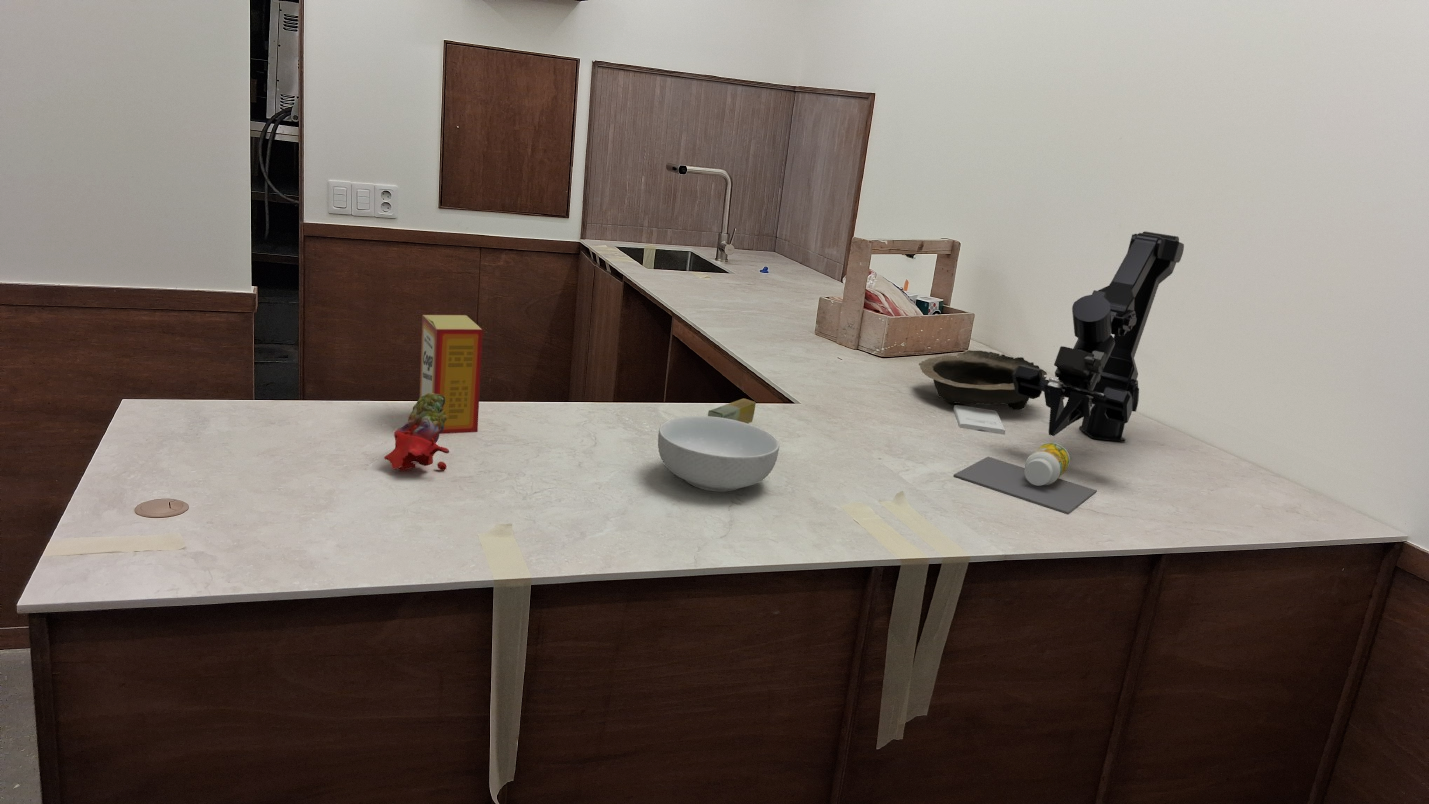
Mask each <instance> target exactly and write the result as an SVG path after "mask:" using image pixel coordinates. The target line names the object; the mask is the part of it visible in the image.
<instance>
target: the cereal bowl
mask: <svg viewBox="0 0 1429 804" xmlns="http://www.w3.org/2000/svg"><path fill="white" fill-rule="evenodd" d="M657 448H658V453H659V455H658V456H659V457H660V459H661V460H662V463H663V464H664V465H665V467H666V468H667V470H669V471H670V472H671V473H672V474H674V475H675V476H676V477H679V478H680V479H682V480H684V481H686V482H687V483H688V484H690V485H691V486H693V487H695V488H698V489H700V490H704V491H708V492H709V491H710V492H716V493H717V492H718V493H719V492H721V493H723V492H724V493H726V492H732V491H735V490H737V489H743V488H747V487H750V486H753V485H756V484H758V483H760V482H762V481H763V480H764V479H766V478H767V477H768V476H769V474H771V472H772V471H773V469H774V467H775V465H776V462H777V459H778V456H779V451H780V442H779V440H778V439H777V438H776V437H775V436H774V435H773V434H772V433H770V432H769V431H767V430H765V429H764V428H760V427H758V426H757V425H754V424H751V423H744V422H740V421H736V420H732V419H727V418H720V417H710V416H708V415H690V416H689V415H688V416H681V417H674V418H671V419H669V420H667V421H665V422H663V423H662V424H661V425H660V427H659V429H658V435H657Z"/></svg>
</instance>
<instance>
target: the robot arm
mask: <svg viewBox="0 0 1429 804" xmlns="http://www.w3.org/2000/svg"><path fill="white" fill-rule="evenodd" d="M1184 248H1185V244H1184V243H1182V242H1180V238H1179V236H1176V235H1170V234H1165V233H1163V234H1162V233H1158V232H1151V231H1143V232H1139V233H1134V234H1131V237H1130V241H1129V244H1128V249H1127V252H1126V255H1125V256H1124V258H1123V260H1122V262H1121V263H1120V264H1119V266H1118V269H1117V271H1116V273H1115V274H1114V276H1113V278H1112V279H1111V282H1110V283H1109V285H1107V286H1104V287H1102V288H1100V289H1098V290H1093V291H1092V293H1091V294H1088V295H1085V296H1084V295H1083V296H1082V297H1080V298H1078V299H1077V300H1075V301H1074V302H1073V305H1072V307H1071V310H1072V322H1073V333H1074V336H1075V337H1076V338H1077V340H1076V342H1075V344H1074V346H1073V347H1069V346H1068V347H1067V346H1064V345H1063V346H1060V347H1059V349H1058V353H1057V354H1056V359H1055V360H1054V363H1053V365H1054V366H1055V367H1056V369H1055V371H1054V377H1055V378H1053V377H1049V379H1047V378H1046V379H1043V377H1042V371H1041V369H1042V368H1040V369H1037V368H1033V367H1029V366H1025V365H1020V366H1018V367H1016V369H1015V370H1014V372H1013V374H1012V378H1013V383H1014V388H1015V393H1016V394H1018V395H1019V396H1023V397H1027V398H1029V399H1031V400H1036V399H1037V398H1040V397H1041V395H1042V394H1043V395H1044V402H1045V406H1046V407H1047V408H1050V411H1049V422H1048V435H1049V436H1052V437H1055V436H1056V435H1057V434H1059V433H1061V432H1062V431H1063V430H1065V429H1066V428H1067V427H1069V426H1070V425H1071V424H1074V423H1075V422H1077V421H1079V420H1082V422H1081V425H1079V430H1081V431H1082V432H1083V433H1085V434H1086V435H1088V437H1090V438H1091V439H1094V440H1104V441H1114V442H1123V443H1125V442H1126V438H1125V437H1123V434H1124V433H1123V432H1124V428H1125V426H1126V425H1125V424H1127V423H1129V420H1130V418H1131V415H1132V412H1137V409H1138V406H1139V399H1140V398H1139V397H1140V387H1139V380H1138V376H1139V372H1138V367H1137V364H1136V360H1135V356H1136V353H1137V350H1138V347H1139V345H1140V341H1141V338H1142V336H1143V332H1144V331H1145V330H1144V329H1145V326H1146V325H1147V321H1148V318H1149V315H1150V312H1151V309H1152V307H1153V303H1154V301H1155V297H1156V294H1157V292H1158V291H1157V290H1158V288H1159V286H1160V284H1161V283H1162V282H1164V281H1165V280H1166V279H1167V278H1168V277H1169V276H1171V275H1172V274H1173V273H1174V270H1175V267H1176V266H1177V264H1178V263H1180V262H1181V260H1182V257H1183V254H1184ZM1113 335H1114V336H1113ZM1065 399H1067V402H1066V404H1064V400H1065Z"/></svg>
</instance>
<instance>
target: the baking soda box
mask: <svg viewBox="0 0 1429 804" xmlns="http://www.w3.org/2000/svg"><path fill="white" fill-rule="evenodd" d="M483 331H484V330H483V329H482V328H481V327H480V326H479V325H478V324H477V323H476V322H475V321H474V320H472V319H471V318H470V317H469V316H468V315H467V314H422V315H421V338H420V339H421V341H420V370H419V371H420V373H419V398H418V400H419V399H420V397H422V396H424V395H426V394H428V393H435V394H439V395H443V396H444V397H445V404H444V405H443V407H442V409H443V410H445V415H446V416H447V420H446V421H445V423H444V429H443V431H442V432H441V433H440V434H439V435H444V434H461V433H463V434H465V433H478V430H479V429H478V427H479V408H480V407H479V406H480V394H481V393H480V391H481V388H480V387H481V374H482V373H481V368H482V355H483V353H482V350H483Z"/></svg>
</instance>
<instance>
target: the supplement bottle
mask: <svg viewBox="0 0 1429 804" xmlns="http://www.w3.org/2000/svg"><path fill="white" fill-rule="evenodd" d="M1070 457H1071V456H1070V454H1069V452H1068V450H1067V449H1066V448H1065V447H1064V446H1062V445H1061V444H1058V443H1056V442H1047V443H1044V444H1041V446H1039V447H1038V448H1037V449H1035V451H1034V452H1032V453H1031V454H1030V455H1029V456H1028V458H1027V459H1026V461H1025V463H1024V468H1025V477H1026V479H1027V480H1028V481H1029V482H1030V483H1031V484H1033V485H1037V486H1041V485H1049V484H1051V483H1053V482H1055V481H1056V480H1057V479H1058V478H1059V479H1060V477H1061V476H1062V475H1063V474H1064V473H1065V472H1066V471H1067V470H1068V468H1069V466H1070V462H1071V458H1070Z"/></svg>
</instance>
